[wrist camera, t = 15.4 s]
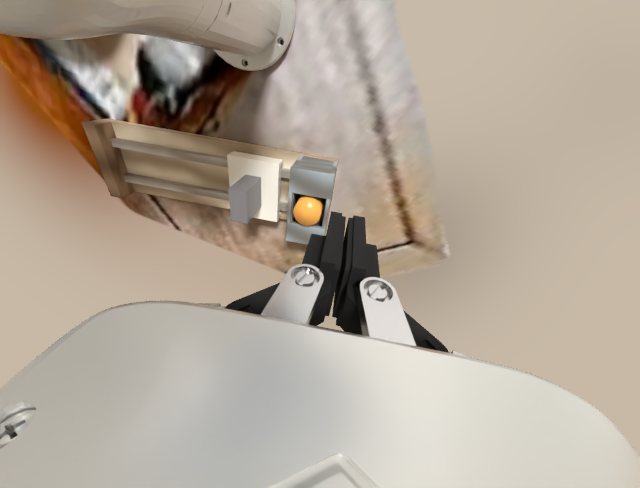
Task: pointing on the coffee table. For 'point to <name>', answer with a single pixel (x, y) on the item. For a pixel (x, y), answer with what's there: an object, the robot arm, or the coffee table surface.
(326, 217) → the rail bed
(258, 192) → the carriage
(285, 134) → the coffee table surface
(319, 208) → the button
